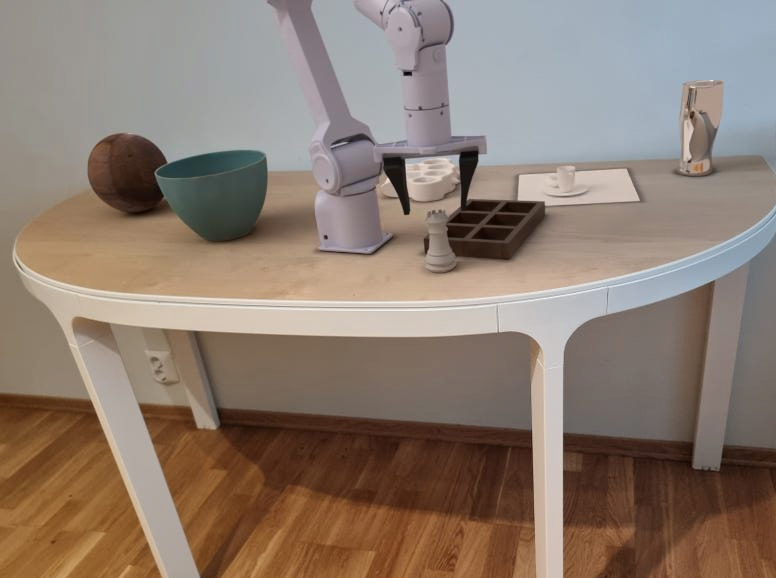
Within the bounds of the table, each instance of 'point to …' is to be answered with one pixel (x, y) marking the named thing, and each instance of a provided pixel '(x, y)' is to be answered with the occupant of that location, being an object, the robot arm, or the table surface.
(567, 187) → the cream piece
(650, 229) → the table surface
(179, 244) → the table surface
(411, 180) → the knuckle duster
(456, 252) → the rack
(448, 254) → the rook chess piece
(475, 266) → the table surface
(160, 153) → the wooden sphere
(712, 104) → the beer glass
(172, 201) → the plant pot
